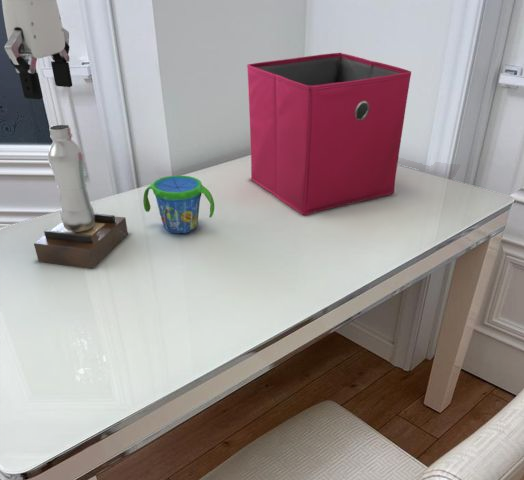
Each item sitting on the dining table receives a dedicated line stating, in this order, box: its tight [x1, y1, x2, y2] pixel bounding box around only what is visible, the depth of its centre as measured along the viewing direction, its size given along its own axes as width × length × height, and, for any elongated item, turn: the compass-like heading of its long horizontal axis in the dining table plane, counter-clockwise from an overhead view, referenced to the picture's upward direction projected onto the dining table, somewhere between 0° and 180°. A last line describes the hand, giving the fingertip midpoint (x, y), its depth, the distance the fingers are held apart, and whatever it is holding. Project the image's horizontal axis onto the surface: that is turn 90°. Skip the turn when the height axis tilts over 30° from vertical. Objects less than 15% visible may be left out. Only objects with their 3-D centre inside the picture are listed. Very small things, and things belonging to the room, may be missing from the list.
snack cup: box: [142, 175, 215, 235], centre depth 120 cm, size 16×10×10 cm
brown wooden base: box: [33, 212, 129, 269], centre depth 114 cm, size 12×16×6 cm
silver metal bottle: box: [47, 124, 96, 232], centre depth 107 cm, size 6×7×20 cm
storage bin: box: [246, 52, 412, 217], centre depth 134 cm, size 28×29×28 cm
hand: (49, 92), depth 97 cm, fingers open, 9 cm apart
